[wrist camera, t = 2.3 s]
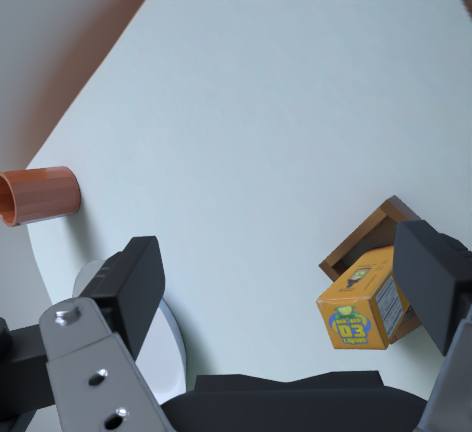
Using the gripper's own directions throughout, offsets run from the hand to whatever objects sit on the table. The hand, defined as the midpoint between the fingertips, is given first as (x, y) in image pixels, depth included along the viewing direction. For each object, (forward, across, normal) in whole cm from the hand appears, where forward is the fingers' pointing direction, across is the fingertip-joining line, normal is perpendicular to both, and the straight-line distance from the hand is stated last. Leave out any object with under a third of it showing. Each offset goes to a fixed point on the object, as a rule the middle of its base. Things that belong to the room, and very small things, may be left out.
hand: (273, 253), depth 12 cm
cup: (+41, +31, +10) cm, 53 cm away
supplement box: (+14, -10, +9) cm, 19 cm away
